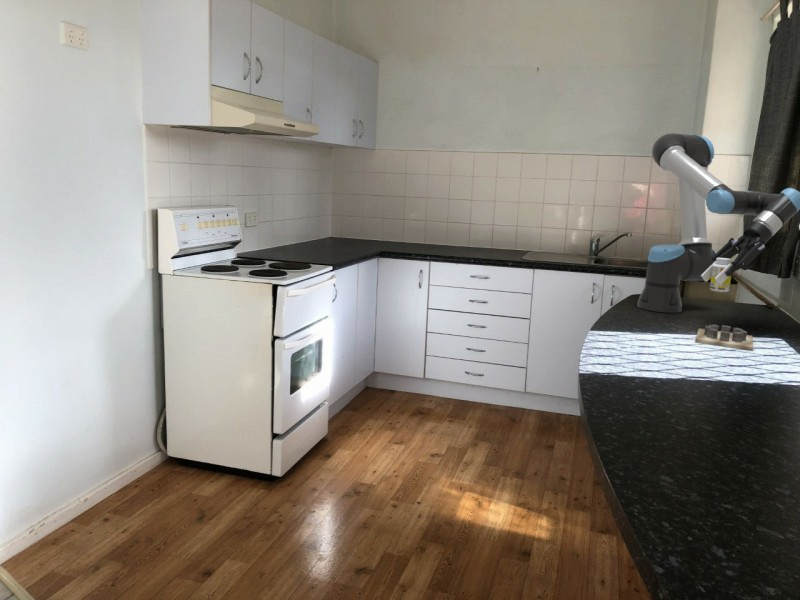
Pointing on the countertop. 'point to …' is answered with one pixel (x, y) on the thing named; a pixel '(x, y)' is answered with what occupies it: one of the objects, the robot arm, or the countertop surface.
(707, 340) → the collar plate
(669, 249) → the robot arm
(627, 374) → the countertop surface
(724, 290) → the supplement bottle
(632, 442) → the countertop surface
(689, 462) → the countertop surface
